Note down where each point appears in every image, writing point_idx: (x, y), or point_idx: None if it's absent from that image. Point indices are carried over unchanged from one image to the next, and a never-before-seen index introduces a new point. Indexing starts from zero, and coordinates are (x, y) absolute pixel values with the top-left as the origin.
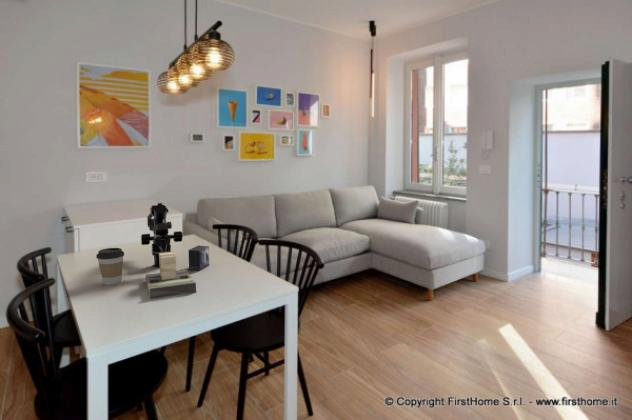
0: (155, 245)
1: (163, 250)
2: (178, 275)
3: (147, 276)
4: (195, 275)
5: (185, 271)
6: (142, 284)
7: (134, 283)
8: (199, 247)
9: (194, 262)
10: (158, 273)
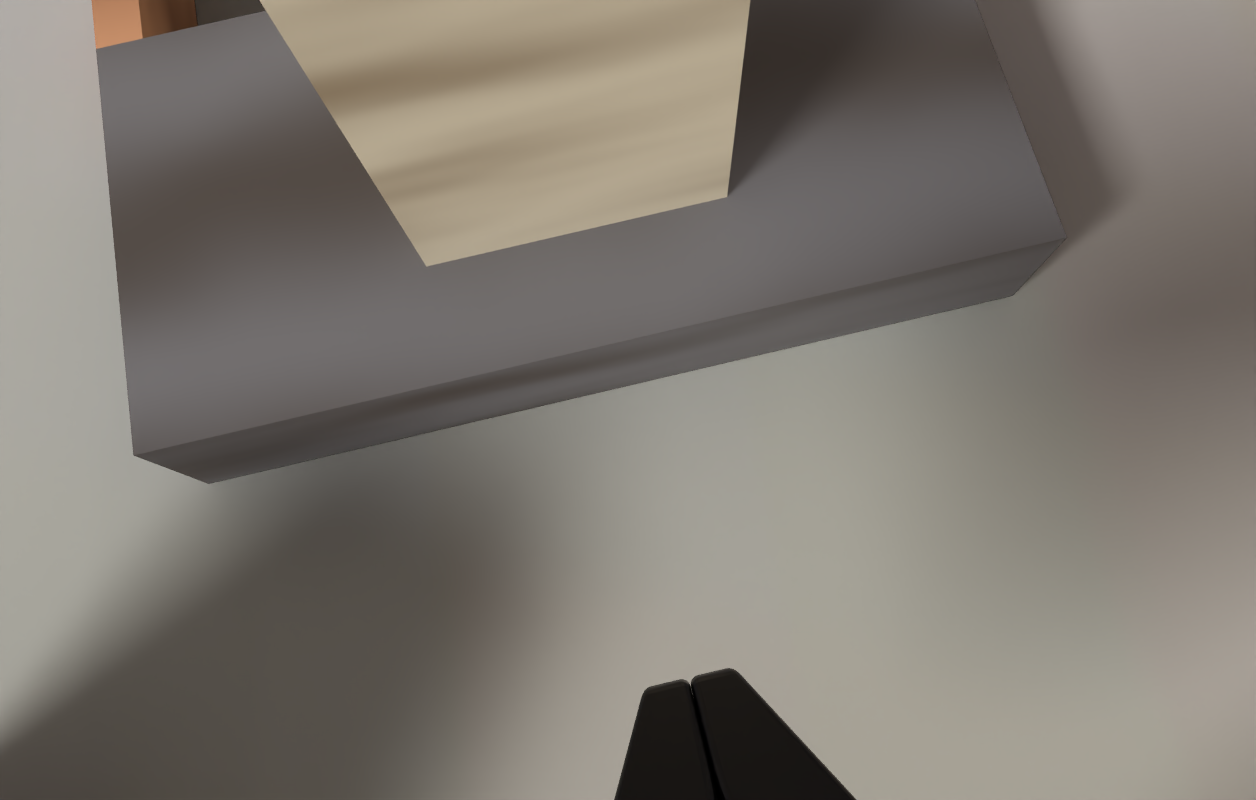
0: None
1: (727, 724)
2: None
3: (980, 101)
4: (33, 478)
5: (166, 308)
6: (1019, 111)
7: (1199, 196)
8: None
9: None
10: (778, 279)
